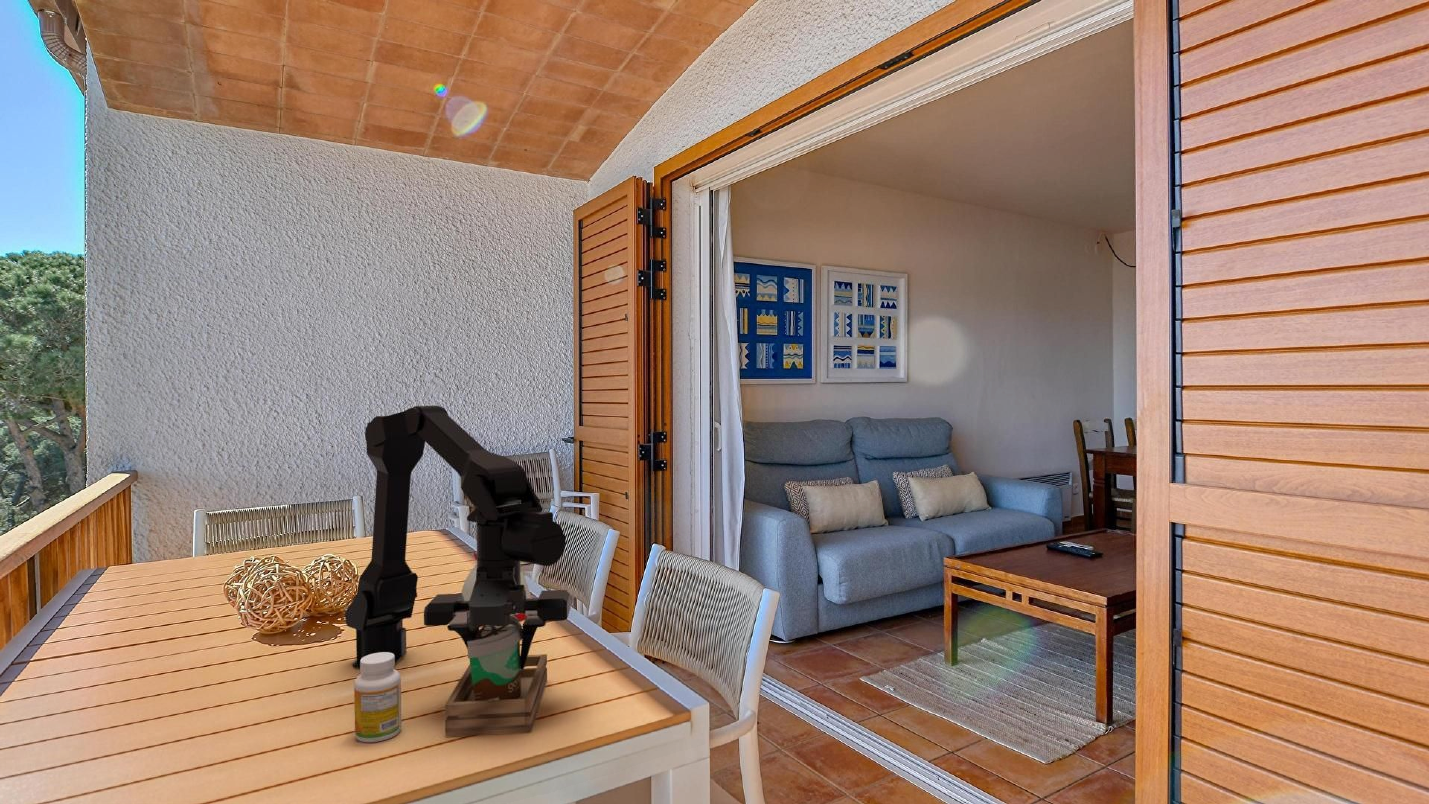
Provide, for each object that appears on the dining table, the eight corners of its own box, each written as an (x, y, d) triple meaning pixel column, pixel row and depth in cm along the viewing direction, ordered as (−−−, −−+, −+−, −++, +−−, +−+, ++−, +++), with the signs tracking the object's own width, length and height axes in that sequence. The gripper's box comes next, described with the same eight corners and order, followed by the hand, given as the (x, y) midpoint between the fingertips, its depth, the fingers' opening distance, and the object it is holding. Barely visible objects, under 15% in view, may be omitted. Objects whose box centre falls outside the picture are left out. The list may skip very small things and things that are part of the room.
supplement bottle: (364, 724, 97) (363, 650, 97) (407, 722, 97) (406, 649, 97) (347, 744, 92) (346, 666, 91) (393, 742, 92) (392, 664, 92)
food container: (522, 713, 97) (515, 637, 96) (474, 719, 96) (466, 642, 96) (535, 676, 109) (528, 608, 109) (492, 681, 108) (485, 613, 108)
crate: (445, 736, 93) (444, 705, 93) (474, 684, 110) (473, 657, 110) (531, 732, 94) (530, 700, 94) (547, 680, 111) (546, 654, 111)
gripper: (410, 573, 93) (412, 697, 93) (562, 568, 95) (563, 689, 95) (434, 553, 104) (436, 664, 104) (570, 549, 106) (571, 658, 106)
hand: (500, 669), depth 102 cm, fingers closed on food container, 5 cm apart
